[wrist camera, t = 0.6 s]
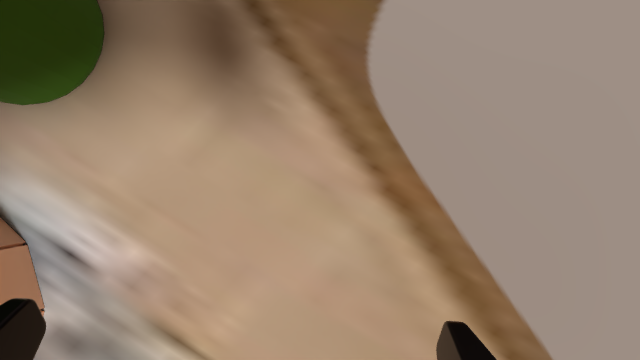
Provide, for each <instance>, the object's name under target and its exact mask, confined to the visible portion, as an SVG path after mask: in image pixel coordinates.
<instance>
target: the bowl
mask: <svg viewBox="0 0 640 360" xmlns="http://www.w3.org/2000/svg"><path fill="white" fill-rule="evenodd" d="M24 243H25V241H24V240H23V239H22V238H21V237H20V236H19V235H18V234H17V233H16V232H15V231H14V230H13V229H12V228H11V227H10V226H9V225H8V224H7V223H6V222H5V221H3V219H1V218H0V305H1V304H3V303H5V302H6V301H8V300H10V299H13V298H27V299H33V300H34V301H35V302H36V303H37V305H38V307H39V309H43V308H45V307H44V304H43V300H42V296H41V293H40V289H39V286H38V282H37V278H36V275H35V271H34V267H33V264H32V260H31V256H30V253H29V249H28V245H25V246H23V244H24ZM40 311H41V310H40ZM41 314H42V316H43V315H44V311H41Z"/></svg>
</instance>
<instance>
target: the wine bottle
mask: <svg viewBox="0 0 640 360" xmlns="http://www.w3.org/2000/svg"><path fill="white" fill-rule="evenodd" d="M103 38H104V26H103V17H102V13H101V10H100V8H99V5H98V3H97V0H0V102H5V103H12V104H19V105H28V104H37V103H45V102H50V101H52V100H55V99H57V98H60V97H62V96H65V95H67V94H68V93H70V92H71V91H73V90H74V89H75V88H77V87H78V86H79V85H81V84H82V83H83V82H84V80H85V79H86V78H87V77H88V75H89V74H90V73H91V72H92V70H93V69H94V67H95V65H96V63H97V61H98V58H99V56H100V54H101V51H102V45H103Z"/></svg>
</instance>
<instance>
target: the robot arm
mask: <svg viewBox="0 0 640 360" xmlns="http://www.w3.org/2000/svg"><path fill="white" fill-rule="evenodd" d="M45 330H46V322H45V320H44V318H43V316H42V314H41V311H40V309H39V307H38V305H37V303H36V302H35V301H34V300H33V299H27V298H13V299H10V300H8V301H6V302H5V303H3V304H1V305H0V360H33V359H34V356H35V354H36V352H37V350H38V347H39V345H40V343H41V341H42V339H43V336H44V334H45ZM436 351H437V360H496V358H495V357H494V356H493V355H492V354H491V353H490V351H489V350H488V349H487V348H486V347H485V346H484V344H483V343H482V342H481V341H480V340H479V339H478V337H477V336H476V335H475V334H474V333H473V332H472V330H471V329H470V328H469V327H468V326H467V325H466V324H465V323H463V322H455V321H446V322H445V323H444V325H443V328H442V331H441V334H440V337H439V340H438V342H437V349H436Z"/></svg>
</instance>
